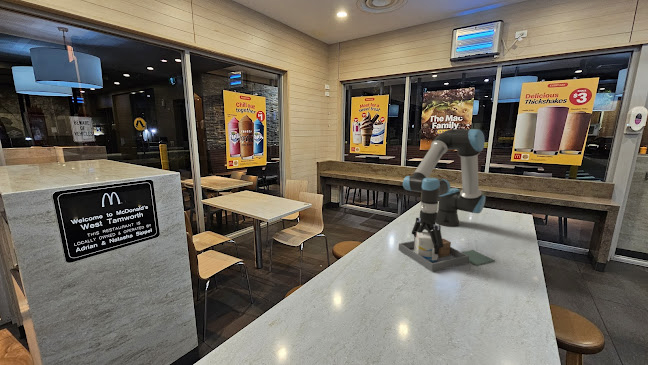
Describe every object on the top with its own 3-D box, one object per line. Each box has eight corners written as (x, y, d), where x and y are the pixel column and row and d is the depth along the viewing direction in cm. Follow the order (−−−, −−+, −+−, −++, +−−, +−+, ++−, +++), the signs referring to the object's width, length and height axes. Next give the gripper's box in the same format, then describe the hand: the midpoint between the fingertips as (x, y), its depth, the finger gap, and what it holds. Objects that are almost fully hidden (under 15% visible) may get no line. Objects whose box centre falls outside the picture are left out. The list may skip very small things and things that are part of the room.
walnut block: (432, 253, 136) (433, 240, 135) (441, 251, 138) (443, 238, 137) (440, 257, 131) (441, 244, 130) (449, 255, 134) (450, 242, 132)
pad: (455, 254, 134) (455, 253, 134) (472, 250, 138) (472, 249, 138) (476, 265, 123) (476, 264, 123) (494, 261, 127) (494, 260, 127)
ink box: (436, 262, 126) (438, 239, 124) (417, 260, 128) (418, 237, 126) (432, 254, 134) (434, 232, 132) (414, 252, 136) (416, 230, 134)
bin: (398, 249, 139) (398, 243, 139) (431, 243, 147) (431, 237, 147) (431, 271, 118) (432, 264, 117) (468, 263, 126) (469, 256, 125)
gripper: (405, 205, 136) (403, 245, 140) (441, 219, 115) (437, 267, 119) (417, 203, 139) (415, 243, 143) (455, 217, 117) (450, 264, 121)
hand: (425, 254), depth 131 cm, fingers closed on ink box, 11 cm apart
